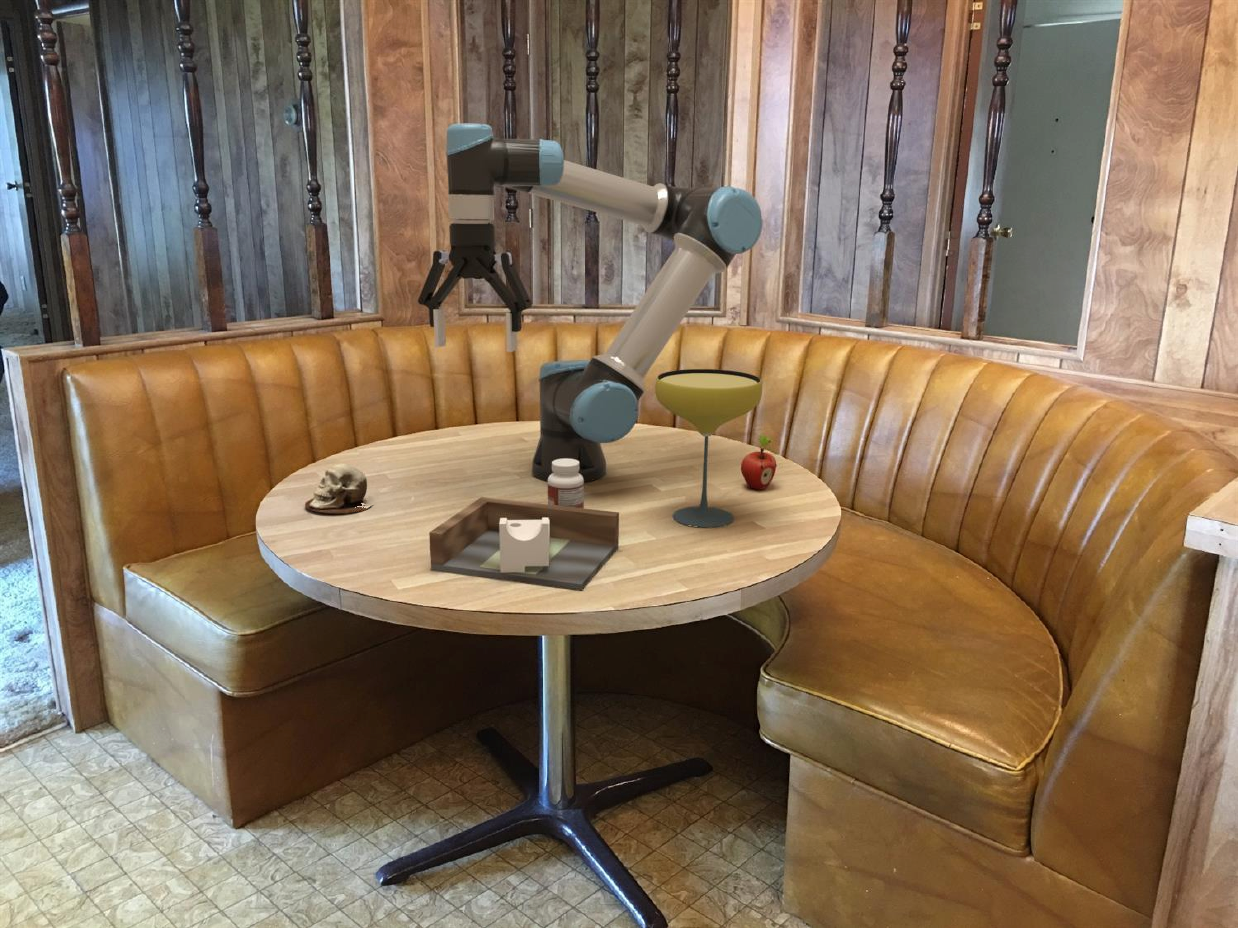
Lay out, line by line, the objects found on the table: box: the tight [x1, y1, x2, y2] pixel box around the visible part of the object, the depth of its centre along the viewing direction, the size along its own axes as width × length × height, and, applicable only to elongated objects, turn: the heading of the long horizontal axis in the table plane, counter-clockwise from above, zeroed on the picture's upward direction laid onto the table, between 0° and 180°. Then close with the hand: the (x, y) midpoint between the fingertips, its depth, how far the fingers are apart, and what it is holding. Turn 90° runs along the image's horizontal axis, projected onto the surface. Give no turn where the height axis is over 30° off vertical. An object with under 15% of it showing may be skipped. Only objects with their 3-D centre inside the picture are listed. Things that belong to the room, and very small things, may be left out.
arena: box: [428, 496, 620, 592], centre depth 144 cm, size 18×24×6 cm
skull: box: [304, 463, 369, 515], centre depth 168 cm, size 12×10×10 cm
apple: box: [740, 434, 778, 490], centre depth 181 cm, size 8×7×10 cm
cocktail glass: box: [654, 368, 763, 528], centre depth 161 cm, size 18×18×25 cm
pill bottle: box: [547, 458, 585, 509], centre depth 159 cm, size 6×6×11 cm
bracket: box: [499, 518, 550, 573], centre depth 142 cm, size 13×7×8 cm, turn 4°
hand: (475, 348), depth 161 cm, fingers open, 13 cm apart
